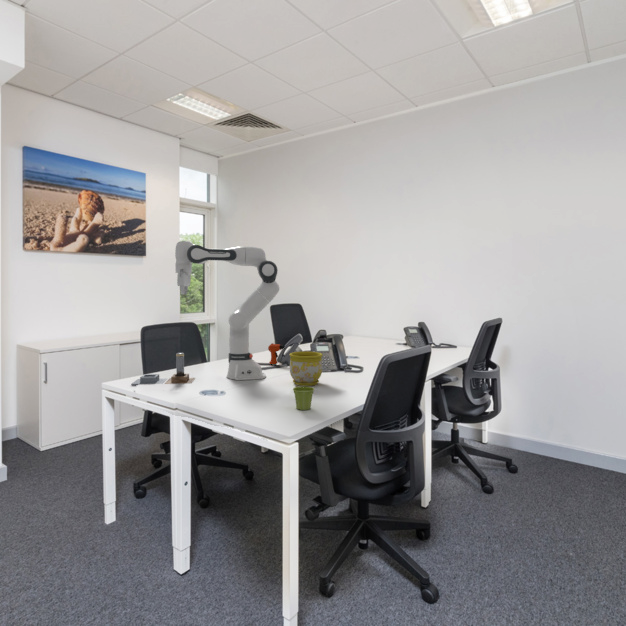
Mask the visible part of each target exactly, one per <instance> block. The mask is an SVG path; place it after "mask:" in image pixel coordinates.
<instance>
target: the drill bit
mask: <svg viewBox="0 0 626 626" xmlns="http://www.w3.org/2000/svg"><path fill="white" fill-rule="evenodd" d="M175 359H176V360H175V361H176V363H175V365H176V370H175V371H176V372H175V374H176V375H177V376H184V374H185V353H184V352H177V353H176V354H175Z"/></svg>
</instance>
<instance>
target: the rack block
mask: <svg viewBox="0 0 626 626" xmlns="http://www.w3.org/2000/svg"><path fill="white" fill-rule="evenodd" d="M167 381H168V378H160V374H159V373H154V374H153V373H151V374H149V373H148V374H147V373H146V374H145V373H144V374H142V376H140V377H139V378H137V379H136V380H134V381H133V382H132V383H130V384H131V385H137V386H139V385H143V384H144V385H146V384H147V385H148V384H152V385H153V384H154V385H155V384H162V385H163V384H165V383H166V382H167ZM131 385H130V386H131Z"/></svg>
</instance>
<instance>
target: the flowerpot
mask: <svg viewBox="0 0 626 626" xmlns="http://www.w3.org/2000/svg"><path fill="white" fill-rule="evenodd" d="M289 357H290V362H289V373H290V377H291V378H292V379H293V380H292V382H293V383H294V385H296V386H298V387H313V386H317V385H318V383H319V382H320V381H319V380H320V378H321V377H322V372H323V362H322V361H323V359H322V357H323V352H322V353H321V352H318V351H305V350H303V351H294V352H290V353H289Z"/></svg>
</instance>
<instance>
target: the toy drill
mask: <svg viewBox="0 0 626 626" xmlns="http://www.w3.org/2000/svg"><path fill="white" fill-rule="evenodd" d="M285 346H286V345H283V344H280V343H279V344H278V343H277V344H276V343H271V344H269V345H268V347H267V350H268V352H270V361H269V363H270V364H276V363H277V362H278V357H279V355H278V352H279V351H282V350H284V349H285V350H286V348H284V347H285ZM283 348H284V349H283ZM269 363H268V364H269Z"/></svg>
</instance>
